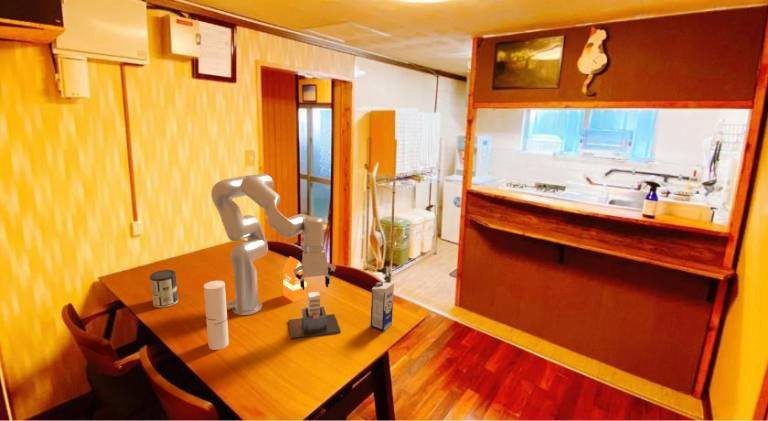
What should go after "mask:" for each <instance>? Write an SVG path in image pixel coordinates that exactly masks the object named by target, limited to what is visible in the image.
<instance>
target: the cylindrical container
mask: <svg viewBox="0 0 768 421" xmlns="http://www.w3.org/2000/svg"><path fill="white" fill-rule="evenodd" d="M203 295H204V306H205V319H206V330H207V344H208V348H209V349H210V350H214V351H218V350H223V349H225V348H226V347H228V345H229V340H230V339H229V327H228V326H229V325H228V312H227V306H226V302H227V296H226V283H225V281H223V280H212V281H208V282H206V283H204V284H203Z"/></svg>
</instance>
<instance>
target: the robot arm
mask: <svg viewBox="0 0 768 421" xmlns="http://www.w3.org/2000/svg"><path fill="white" fill-rule="evenodd" d="M274 184H275V183H274V180H273V178H272V177H271V176H270V175H269V174H267V173H258V174H251V175H244V176H238V177H231V178H230V177H229V178H227V179H222V180H219V181H217V182H216V183H214V185H213V186H212V190H211V199H212V202H213V204H214V206H215V208H216V210H217V211H218V214H219V216H220V217H219V218H220V219H221V222H222V225H223V227H224V228H223V229H224V232H225V233H226V235H227V238H228V239H229V240H230V241H231V242H239V241H241V240H243V239H247V240H245V241H243V242H241V243H238V244H237V245H235V246H233V248H232V249H231V251H230V259H231V263H232V268H233V275H234V276H233V277H234V293H235V297H234V299H233V300H232V301H226V307H227V308H228V309H229V308H232V312H233V313H234V314H235V315H239V316H251V315H253V314H257V313H258V312H260V311H261V309H262V307H263V304H262V303H261V301H259V291H258V290H259V289H258V271H257V268H256V267H255V265H254V262H255V261H257V260H259V259H261V258H263V257H265V256H266V255H267V254H268V252H269V245H268V241H267V239H266V236H265V233H264V229H263V227H262V224H261V222H260V220H259V219H258V218H257V217H256V216H254V215H252V214H247V215H244V216H243V214H242V212H241V208H240V206H239V205H238V203H236V202H235V201H234V200H233V199H236V198H240V197H244V196H247V197H248V198H249V199H251V200H252V201H253V202H255V204H256V205H258V206H259V207H260V208H261V209H262V210H264V214H265V219H266V220H267V222H268V224H269V226H270V227H271V228H272V229H273V230H275V231H276V232H277V233H278V234H280V235H281V236H283V237H285V238H289V239H290V238H293V237H295V236H298V235H300V234H303V237H304V238H303V239H304V241H303V242H304V243H303V245H301V246H300V250H303V251H302V256H301V257H302V258H301V264H302V265H301V266H299V267H297V268H295V269H294V270H293V273H294V274H295V276H296V277H297V278H298V279H299V280H300V287H302V289H303V290H305V288H304V278H305V277H306V278H312V277H320V276H324V277H325V278H324V284H325V287H326V288H329V285H330V278H331V276H332V275H333V274H334V272H335V270H336V269H337V267H336V265H334V264H331V263H329V262H328V256H327V252H326V251H327V250H325V249H324V246H325V245H324V243H325V242H324V241H325V240H324V220H323V219H322V217H319V216H310V215H309V214H303V213H299V214H296V215H295V214H294V215H293V216H290V217H286V216H285V215H283V214H282V213H281V212H280V211H279V209H278V207H277V206H278V205H279V204H280V201H281V196H280V194H278V193H277V192H276V191H275V190H273V188H274ZM329 268H330V270H329ZM301 269H302V274H301V275H299V274H298V273H297V272H298V271H300V270H301Z"/></svg>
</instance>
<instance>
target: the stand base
mask: <svg viewBox="0 0 768 421" xmlns="http://www.w3.org/2000/svg"><path fill="white" fill-rule="evenodd" d="M288 326H289V327H288V328H289V333H290V334H289V335H290V340H291V341H293V340H294V341H296V340H301V339H308V338H314V337H321V336H322V337H323V336H330V335H336V334H342V333H341V332H342V331H341V327H340V325H339V323H338V320H337V317H336V315H335V314H334V313H333V314H327V311H326V309H325V307H324V306H320V316H319V314H318V313H312V317H308V307H304V308H301V318H300V317H299V318H293V319H288Z"/></svg>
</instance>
